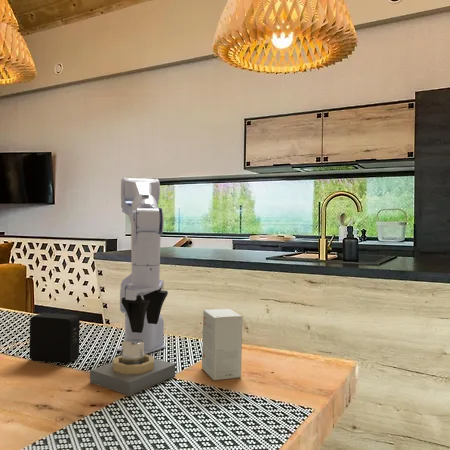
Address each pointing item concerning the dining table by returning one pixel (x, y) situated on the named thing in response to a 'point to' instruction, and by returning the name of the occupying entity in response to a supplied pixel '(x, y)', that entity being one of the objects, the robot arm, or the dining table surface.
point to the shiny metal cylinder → (133, 352)
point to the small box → (222, 343)
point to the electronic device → (54, 337)
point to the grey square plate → (132, 375)
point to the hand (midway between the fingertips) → (145, 327)
